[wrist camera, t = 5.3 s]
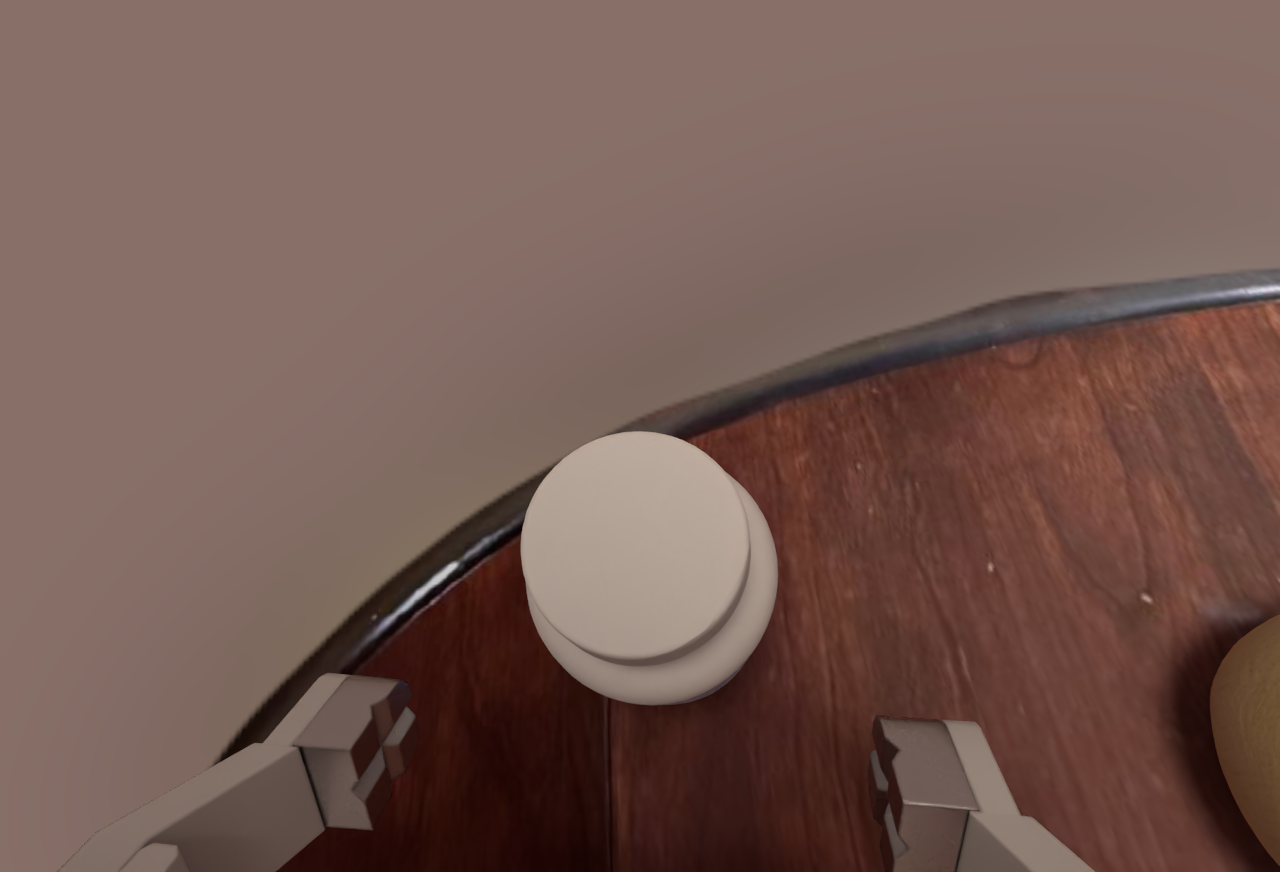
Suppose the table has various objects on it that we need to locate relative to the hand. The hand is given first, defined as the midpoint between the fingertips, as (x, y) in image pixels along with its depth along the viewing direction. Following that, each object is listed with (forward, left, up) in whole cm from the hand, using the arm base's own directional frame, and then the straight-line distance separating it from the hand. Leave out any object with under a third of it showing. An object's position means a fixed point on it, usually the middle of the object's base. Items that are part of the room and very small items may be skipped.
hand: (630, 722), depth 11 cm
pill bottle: (0, +3, -8) cm, 9 cm away
